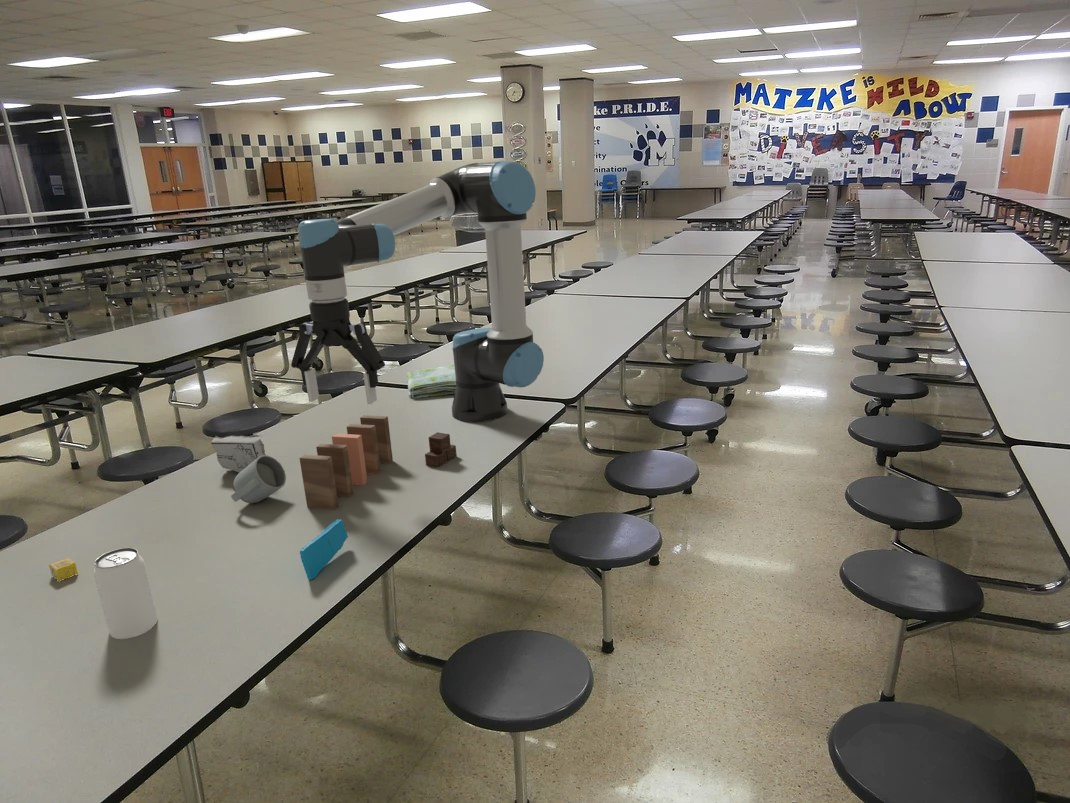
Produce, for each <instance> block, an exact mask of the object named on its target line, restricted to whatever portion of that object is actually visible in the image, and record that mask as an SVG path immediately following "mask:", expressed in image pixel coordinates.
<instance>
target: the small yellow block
mask: <svg viewBox="0 0 1070 803" xmlns="http://www.w3.org/2000/svg"><path fill="white" fill-rule="evenodd" d="M48 567H49V570H50V571H49V572H50V574H51V577H52V576H53V577H54V578H55V579H57V580H58V581H60V580H62V579H65V578H68V577H70V576H72V575H75V574H78V575H79V573H78V569H77V564H76V562H74V561H73V560H71V558H69V557H66V558H63V559H60V560H58V561H57V560H56V561H55V562H51V563H49V565H48ZM54 578H53V579H54ZM55 579H54V580H55ZM58 581H57V582H58Z"/></svg>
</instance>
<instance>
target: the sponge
mask: <svg viewBox="0 0 1070 803" xmlns="http://www.w3.org/2000/svg"><path fill="white" fill-rule="evenodd" d="M347 532H348V531H347V530H346V527H345V523H344V520H343V519H339V518H338V519H336V520H334V521H333V522H331V523H330V524H329V525H328V526H326V528H324V530H323V531H322V532H320V534H319V535H317V536H316V537H315V538H314V539H312V540H311V541H310V542H308V543H307V544H306V545H304V547H302V548H301V549H299V555H300V559H301V563H302V565H303V568H304V571H305V573H306V574H305V575H306V578H307V579H308V581H312V580H315V578H316V577H317V576H318V575H319V573H320V572H321V571H322V570H323V569H324V567H325V566H326V565H328V564H329V562H330V561H331V560H333V558H334V557H335V556H336V554H337V553H338V552H339V551H340V550H341V549H342V548H343V546H344V545H345V544H344V543H345V541H346V540H347V539H348V537H349V536H348V533H347Z"/></svg>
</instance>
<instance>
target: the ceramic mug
mask: <svg viewBox="0 0 1070 803" xmlns="http://www.w3.org/2000/svg"><path fill="white" fill-rule="evenodd" d="M232 482H233V483H232V485H233V486H232V487H233V491H234V493H232V495H230V498H231V499H232V501H233V502H235V503H237V502H238V501H239V500H241V501H242V502H244V503H246V504H257V503H259V502H261V501H263V500H264V499H266V498H268V497H269V496H270V495H273V494H274V493H276V492H277V491H279V490H280V489H281V488H283V487H284V486H285V484H286V482H287V474H286V471H285V469H284V467H283V465H282V464H281V463H280V462H279V461H278V460H277V459H276V458H274V457H272V456H269V455H263V456H259V457H258V458H257V459H255V460H254V461H253V462H252V463H251V464H249V465H248V466H247V467H246V468H245V469H243V470H242V471H241V472H240V473H239V472H238V473H237V475H236V476H235V478H234V479H233V481H232Z"/></svg>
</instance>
